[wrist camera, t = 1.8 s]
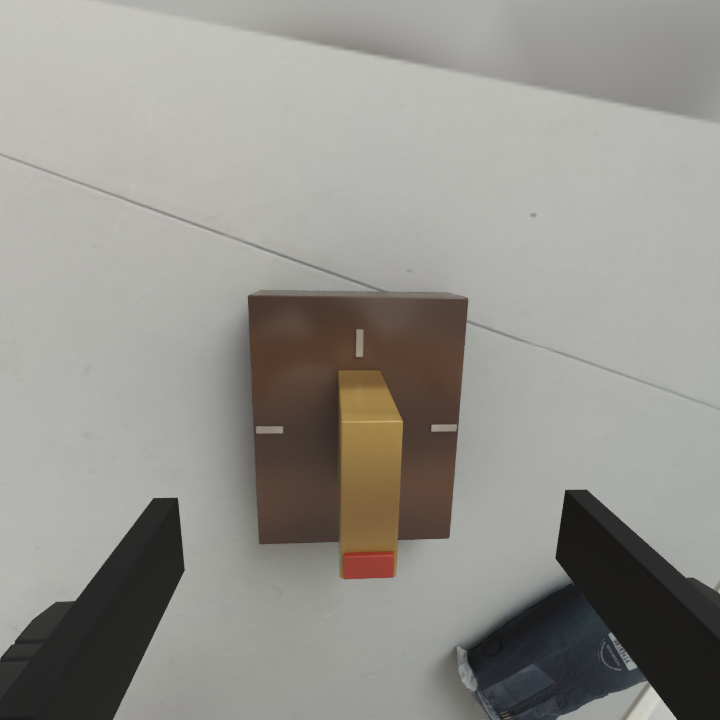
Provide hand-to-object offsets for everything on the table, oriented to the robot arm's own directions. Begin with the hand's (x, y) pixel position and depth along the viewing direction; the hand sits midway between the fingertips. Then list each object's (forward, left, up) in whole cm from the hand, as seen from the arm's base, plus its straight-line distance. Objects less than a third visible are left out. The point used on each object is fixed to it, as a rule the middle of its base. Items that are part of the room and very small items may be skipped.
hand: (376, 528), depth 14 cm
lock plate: (0, 0, -12) cm, 12 cm away
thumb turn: (0, 0, -8) cm, 8 cm away
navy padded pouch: (+18, +16, -12) cm, 27 cm away
